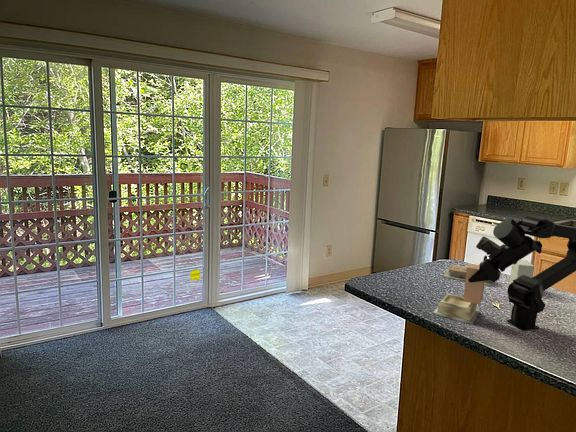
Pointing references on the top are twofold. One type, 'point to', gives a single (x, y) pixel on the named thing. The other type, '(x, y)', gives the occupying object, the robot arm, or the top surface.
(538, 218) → the robot arm
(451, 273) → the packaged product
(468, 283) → the column block
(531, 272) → the small box
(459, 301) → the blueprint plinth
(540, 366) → the top surface
